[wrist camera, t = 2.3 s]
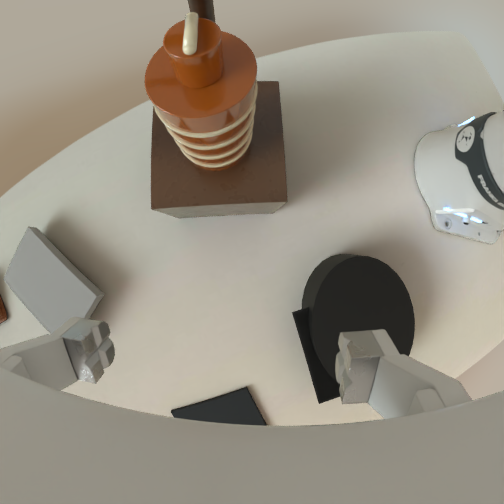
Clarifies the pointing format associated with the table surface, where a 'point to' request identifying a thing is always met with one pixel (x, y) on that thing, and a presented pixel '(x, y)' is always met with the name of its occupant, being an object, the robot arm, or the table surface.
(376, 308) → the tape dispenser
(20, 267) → the grey rectangular block
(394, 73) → the table surface
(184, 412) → the rubber mat
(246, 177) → the hanger rack
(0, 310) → the sunglasses case
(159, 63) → the brown banded bottle
